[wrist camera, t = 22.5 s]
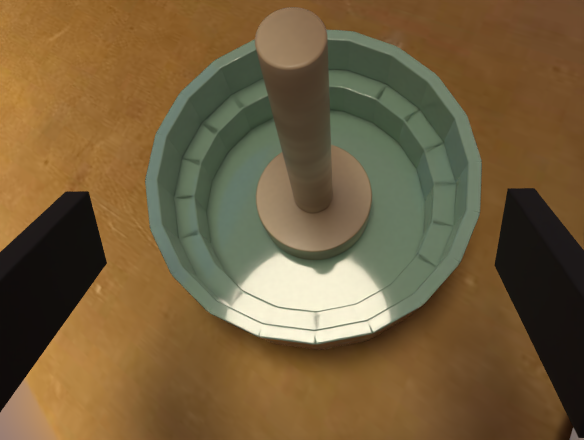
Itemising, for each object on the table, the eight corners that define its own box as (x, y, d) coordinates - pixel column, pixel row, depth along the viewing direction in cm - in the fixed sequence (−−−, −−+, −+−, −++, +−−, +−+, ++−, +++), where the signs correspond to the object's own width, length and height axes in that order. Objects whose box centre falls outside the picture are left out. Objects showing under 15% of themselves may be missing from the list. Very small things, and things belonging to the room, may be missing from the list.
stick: (293, 280, 27) (242, 177, 13) (242, 188, 29) (149, 8, 15) (390, 226, 28) (446, 68, 13) (335, 138, 29) (331, -85, 15)
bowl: (257, 403, 26) (235, 411, 21) (142, 166, 31) (98, 119, 25) (508, 260, 27) (554, 231, 22) (362, 51, 32) (367, -20, 26)
